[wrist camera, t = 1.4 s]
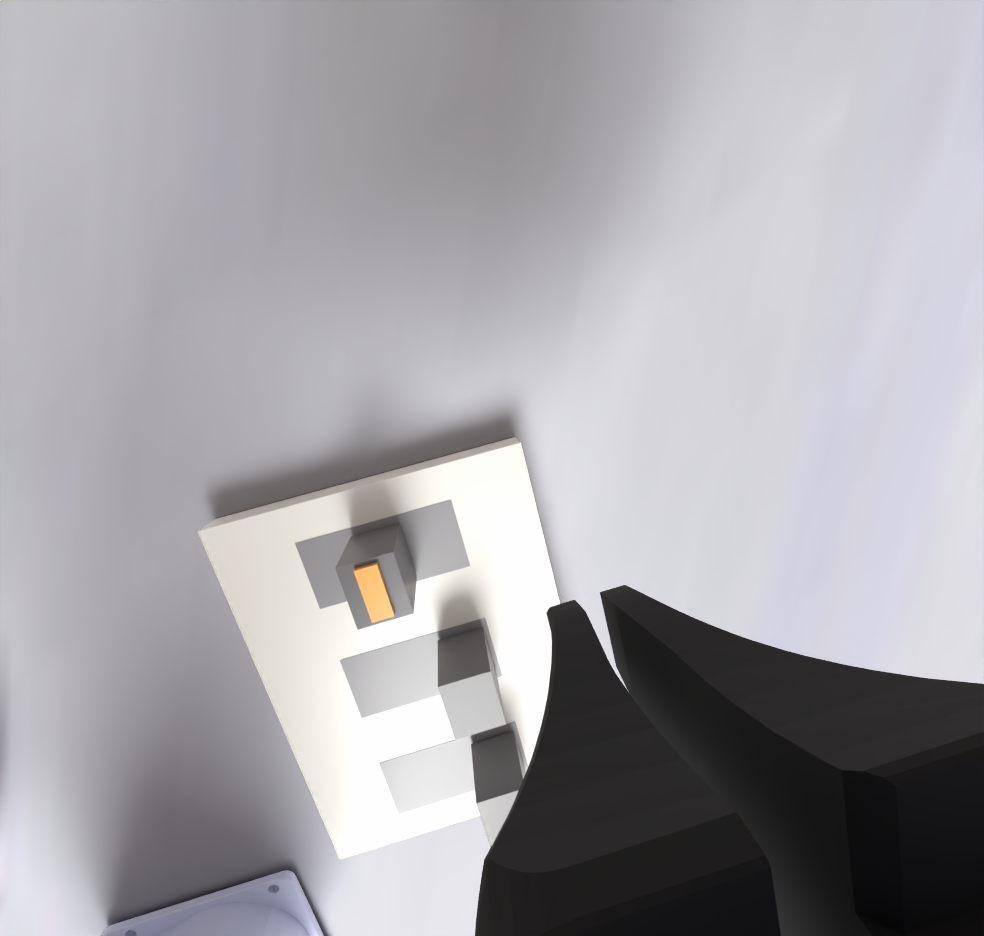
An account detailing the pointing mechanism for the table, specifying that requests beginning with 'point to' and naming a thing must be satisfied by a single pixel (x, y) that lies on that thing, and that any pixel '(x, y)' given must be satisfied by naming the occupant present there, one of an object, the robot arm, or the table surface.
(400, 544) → the breaker
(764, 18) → the table surface
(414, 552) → the breaker panel
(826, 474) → the table surface
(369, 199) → the table surface
